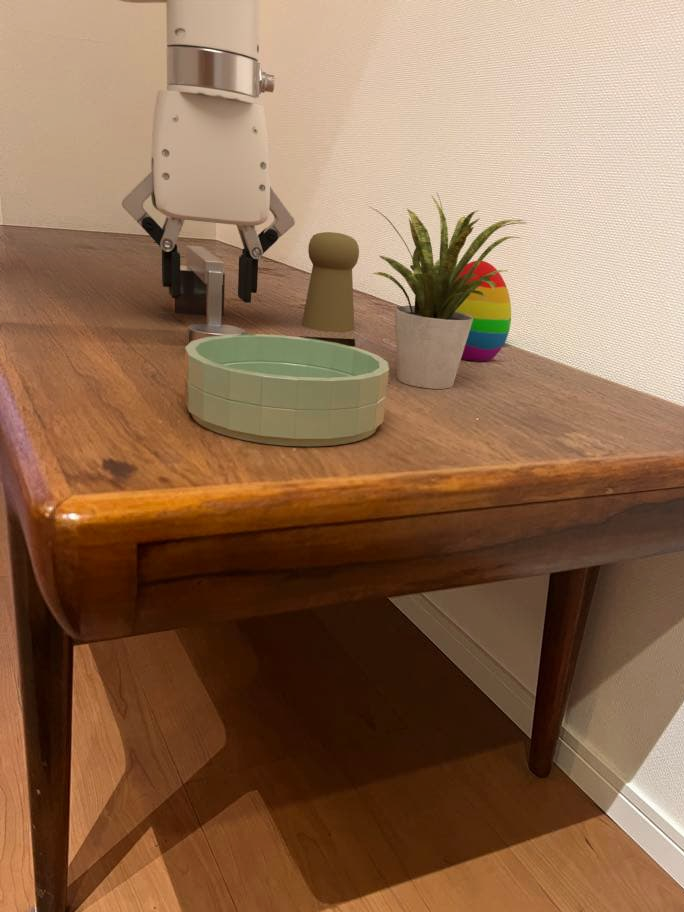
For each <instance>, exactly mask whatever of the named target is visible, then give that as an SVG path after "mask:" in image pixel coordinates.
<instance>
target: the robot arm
mask: <svg viewBox="0 0 684 912" xmlns="http://www.w3.org/2000/svg"><path fill="white" fill-rule="evenodd" d="M119 1H120V2H125V3H133V4H151V3H152V4H160V3H161V4H162V3H164V4H165V3H166V4H165V5H166V7H165V8H166V11H165V12H166V90H165V89H161V90H157V93H156V98H155V102H154V110H153V118H152V119H153V120H152V130H151V131H152V132H151V149H150V150H151V151H150V154H151V155H150V171H149V172H148V173H147V174H146V175H145V176H144V177H143V178H142V179H141V180H140V181H139V182H138V183H137V184H136V185H135V186H134V187H133V188H132V189H131V190H130V191H129V192H128V193H127V194H126V195H125V196H124V197H123V198H122V200H121V206H122V208H123V209H124V210H125V211H126V212H127V214H129V215H130V216H131V218H132V219H133V220H135V221H136V222H137V224H138V225H139V226H140V227H141V228H142V229H143V230H144V231H145V232H146V233H147V234H148V235H149V236H150V237H151V239H153V241H154V242H155V243H156V244H157V245H158V246H159V248H161V285H162V288H163V287H164V288H168V294H169V296H170V298H171V297H172V298H178V297H180V265H181V254H180V253H179V251H178V245H177V241H178V238H179V236H180V233H181V230H182V228H183V225H184V223H185V221H193V222H202V223H214V224H223V225H224V224H225V225H233V226H236V228H237V231H238V234H239V237H240V240H241V243H242V246H243V248H242V252H241V253H242V254H240V256H239V257H238V276H237V277H238V278H237V279H238V281H237V297H238V298H239V299H240V300H241V301H242V302H244V303H245V304H246V303H247V304H248V303H249V304H251V302H252V294H257V293H258V279H259V278H258V277H259V276H258V275H259V260H260V259H261V258H262V257H263V255H264V254H265V253H266V252H267V251H268V250H269V249H270V248H271V247H272V246H273V245H274V244H275V243H276V242H277V241H278V239H280V238H281V237H283V235H285V234H286V233H287V232H288V231H289V230H291V228H292V227H294V225H295V224H296V219H295V218H294V216H293V214H292V213H291V212H290V210H289V209H288V208H287V207H286V205H285V204H284V203H283V201H282V200H281V198H280V197H279V196H278V195H277V194H276V192H275V191H274V189H273V187H272V186H271V173H270V153H269V151H270V150H269V149H270V148H269V137H268V136H269V135H268V127H267V119H266V112H265V106H264V105H261V104H258V99H257V98H259V97H260V95H261V94H263V93H264V94H265V93H266V92H268V93H273V92H274V90H275V76H274V75H273V74H268V73H267V72H265V71H263V69H262V68H261V62H259V52H260V51H259V48H260V46H259V45H260V19H261V18H260V17H261V0H119ZM149 198H151V203H152V206H153V207H154V209H155V210H157V211H159V212H160V213H161V214H162V215H164V216H165V219H164V222H163V224H162V227H161V226H160V225H159V223H158V222H157V221H156V220H155V219H154V218H153V217H152V216H151V215H150V214H149V213H148V212H147V211H146V210H145V208H144V204H145V201H146V200H147V199H149ZM270 212H271V214H272V215H273V217H274V218H273V221H272V222H271V223H270V225H268V226H267V227H265V228H264V229H263V230H262V231H261V232H260V233H258V232H257V231H258V230H257V229H256V226H259V225H262V224H264V223H266V222H267V220H268V219H269V215H270Z"/></svg>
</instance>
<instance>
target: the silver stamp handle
mask: <svg viewBox="0 0 684 912" xmlns="http://www.w3.org/2000/svg"><path fill="white" fill-rule="evenodd" d="M186 266H188V267H189V268H190V269H191V270H192V271H193V272H194V273H195V274H196V275H197V276H198V277H199V278H200V279H201V280H202V281H203V282H204V283H205V284H207V315H205V317H206V321H205V322H206V323H194V324H191V325H188V327H187V328H188V330H187V331H188V336H187V337H188V339H187V340H188V343H187V345H188V344H189V343H190V342H191V341H194V340H198V339H201V338H205V337H211V336H220V335H229V334H246V331H245V330H244V329H243V328H241V327H238V326H234V325H229V324H222V316H221V308H222V285H223V273H224V261H222V260H221V259H219V258H218V257H216V256H215V255H214V254H213V253H212V252H210V251H209V250H207V249H206V248H205V247H203V246H201V245H200V246H199V245H186Z"/></svg>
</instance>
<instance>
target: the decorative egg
mask: <svg viewBox="0 0 684 912" xmlns="http://www.w3.org/2000/svg"><path fill="white" fill-rule="evenodd" d="M476 261H477V260H474V261H471V262H470V261H469V262H468V263H467V265H466V266H465V268H464V269H463V270H462V272H461V273H460V275H459V276H458V278H457V280H458V279H459V278H460V277H462V276H463V275H465V274H467V273H468V272H469V270H470V269H471V268H472V267H473V265H474V264H475V263H476ZM494 271H498V269H497V268H496V267H495V266H494V265H493V264H491V263H489V262H487V261H485V260H482V261H481V262H480V263H479V265H478V266H477V267H476V269H475V270H474V271H473V273H472V274H474V275H477V276H485V275H487V274H489V273H491V272H494ZM480 279H481V278H480V277H473V278H471V279H469V280H468V281H467V282H466V283H468V282H470V281H473V280H480ZM489 279H490V281H492V282H494V283H495V287H494V291H493V288H492V287H490V285H489V284H488V283H487V282H483V283H482V284H481V285H479V286H478V287H477V288H476V289H475V291H480V292H482V293H483V295H484V297H485V299H486V300H485V299H484V297H482V296H480V295H478V294H474V293H471V294H470V295H469V296H468V297H467V298H466V299H465V301H464V302H463V303H462V304H461V305H460V306H459V307H458V308H457V309H456V311H457V312H461V313H464V314H467V315H470V316H472V317H473V321H472V325H471V328H470V331H469V334H468V338H467V341H466V344H465V347H464V351H463V354H462V357H461V360H465V361H473V362H487V361H491V360H492V359H494V358H495V357H496V356H497V355H498V354H499V352H501V350H502V348H503V347H504V345H505V343H506V342H507V339H508V336H509V334H510V329H511V324H512V323H511V322H512V304H511V297H510V293H509V290H508V286H507V284H506V282H505V280H504V278H503V276H502V275H501V272H498V273H496V274H495V275H493V276H491V277H490V278H489ZM457 280H456V281H457ZM456 281H455V282H456ZM466 283H465V284H466ZM468 290H469V289H468ZM468 290H467V291H468Z"/></svg>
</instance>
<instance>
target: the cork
mask: <svg viewBox="0 0 684 912" xmlns="http://www.w3.org/2000/svg"><path fill="white" fill-rule="evenodd" d="M307 253H308V257H309V260H310V262H311V263H312V268H311V273H310V279H309V284H308V289H307V293H306V294H307V295H306V299H305V305H304V310H303V315H302V320H301V326H303V327H304V328H307V329H310V330H315V331H321V332H330V333H350V332H354V331H355V314H354V313H355V310H354V285H353V281H354V280H353V270H354V268H355V266H356V265H357V264H358V261H359V257H360V248H359V244H358V242H357V240H356V239H355V238H354V237H352V236H349V235H347V234H344V233H341V232H334V231H333V232H332V231H325V232H323V231H322V232H317V233H315V234H313V235H312V236H311V238H310V239H309V243H308V251H307ZM298 337H302V338H310V339H317V340H323V341H329V342H335V343H339V344H343V345H347V346H351V347H356V339H355V338H343V337H323V336H322V337H321V336H301V335H300V336H298Z"/></svg>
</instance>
